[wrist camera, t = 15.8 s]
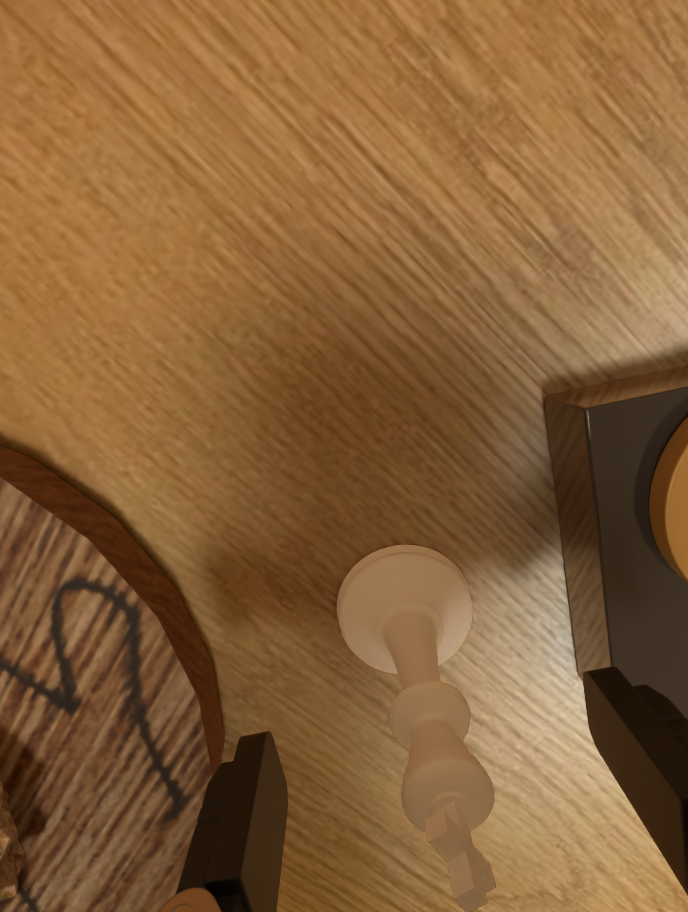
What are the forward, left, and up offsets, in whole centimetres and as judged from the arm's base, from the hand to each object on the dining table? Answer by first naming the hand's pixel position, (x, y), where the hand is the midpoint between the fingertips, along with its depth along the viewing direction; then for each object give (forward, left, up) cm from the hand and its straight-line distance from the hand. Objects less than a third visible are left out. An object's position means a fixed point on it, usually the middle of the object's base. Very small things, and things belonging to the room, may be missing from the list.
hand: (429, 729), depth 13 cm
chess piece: (0, 0, -6) cm, 6 cm away
